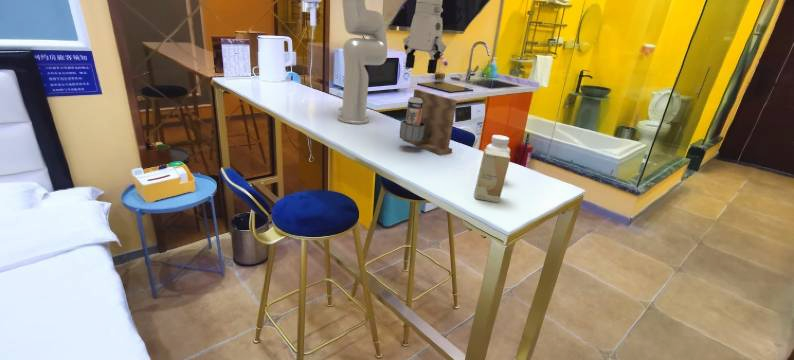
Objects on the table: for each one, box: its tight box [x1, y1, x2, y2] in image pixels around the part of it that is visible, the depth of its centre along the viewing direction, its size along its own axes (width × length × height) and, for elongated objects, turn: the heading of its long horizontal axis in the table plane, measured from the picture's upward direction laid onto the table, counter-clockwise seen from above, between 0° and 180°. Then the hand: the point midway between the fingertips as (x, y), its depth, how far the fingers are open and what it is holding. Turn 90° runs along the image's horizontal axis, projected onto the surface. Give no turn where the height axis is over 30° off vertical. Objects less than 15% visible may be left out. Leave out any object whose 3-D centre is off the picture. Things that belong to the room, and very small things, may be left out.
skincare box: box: [473, 148, 511, 203], centre depth 96 cm, size 6×4×12 cm
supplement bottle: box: [485, 134, 511, 156], centre depth 108 cm, size 7×7×13 cm
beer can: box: [405, 96, 423, 126], centre depth 125 cm, size 5×5×12 cm
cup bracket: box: [399, 88, 458, 156], centre depth 128 cm, size 18×15×18 cm
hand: (420, 70), depth 120 cm, fingers open, 9 cm apart
